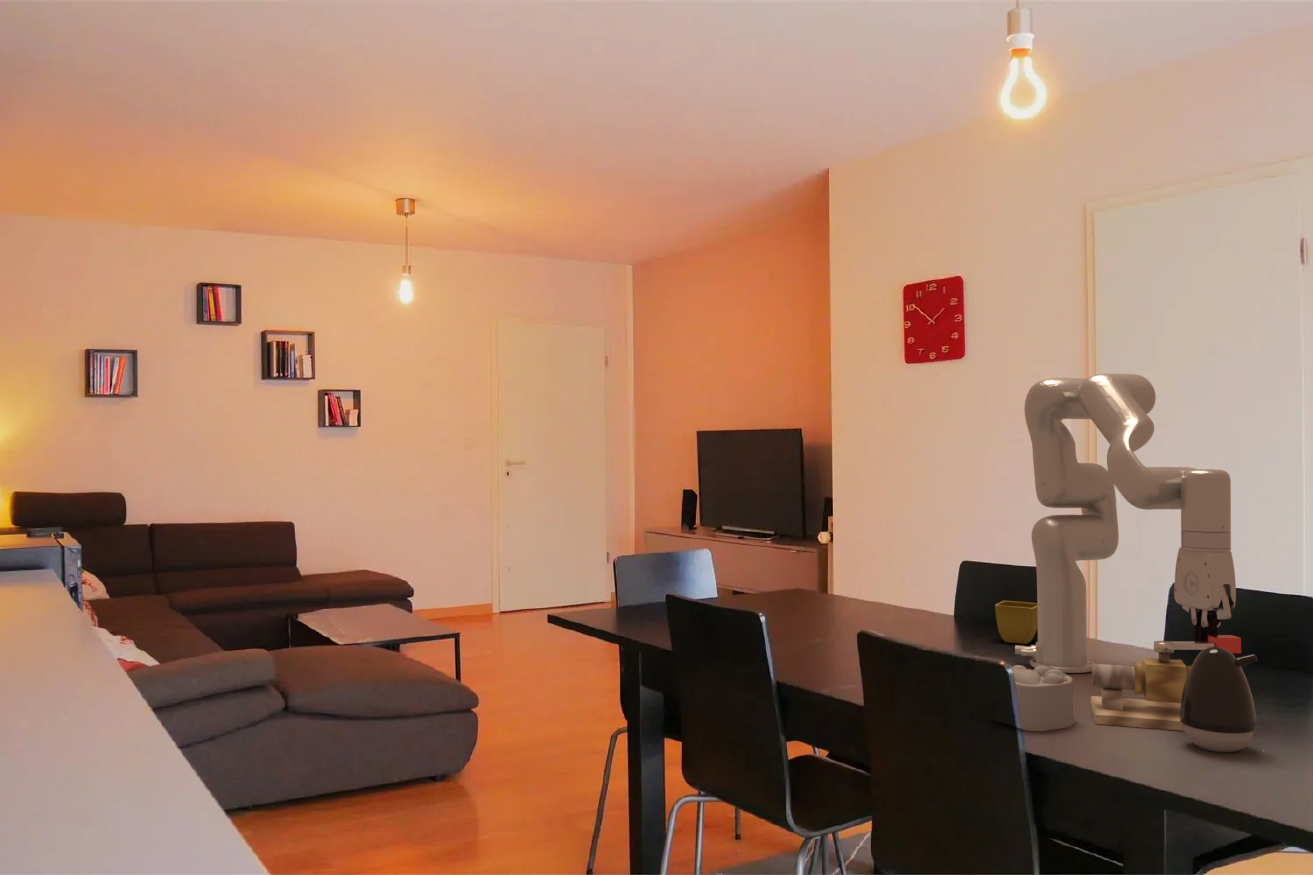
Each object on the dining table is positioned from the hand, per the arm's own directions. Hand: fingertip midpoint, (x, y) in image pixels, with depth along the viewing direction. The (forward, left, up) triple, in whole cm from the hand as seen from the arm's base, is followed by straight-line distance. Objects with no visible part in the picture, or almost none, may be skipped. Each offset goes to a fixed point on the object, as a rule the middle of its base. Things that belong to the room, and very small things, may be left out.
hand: (1206, 648), depth 176 cm
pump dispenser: (-1, -22, -11) cm, 25 cm away
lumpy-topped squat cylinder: (-27, -14, -11) cm, 33 cm away
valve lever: (-2, -5, 0) cm, 5 cm away
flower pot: (-31, +61, -11) cm, 69 cm away
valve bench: (-7, -6, -11) cm, 15 cm away
